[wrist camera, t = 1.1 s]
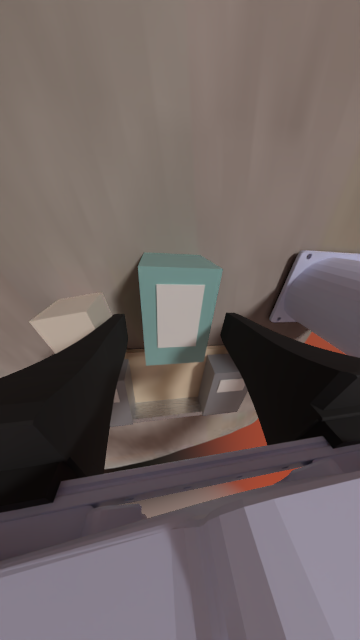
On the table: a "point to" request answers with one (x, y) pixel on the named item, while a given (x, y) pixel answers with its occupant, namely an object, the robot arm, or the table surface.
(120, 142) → the table surface
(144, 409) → the rail
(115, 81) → the table surface
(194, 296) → the teal module
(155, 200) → the table surface
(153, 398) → the board
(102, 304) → the block
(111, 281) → the table surface
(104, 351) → the robot arm
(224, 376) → the mounted modules
